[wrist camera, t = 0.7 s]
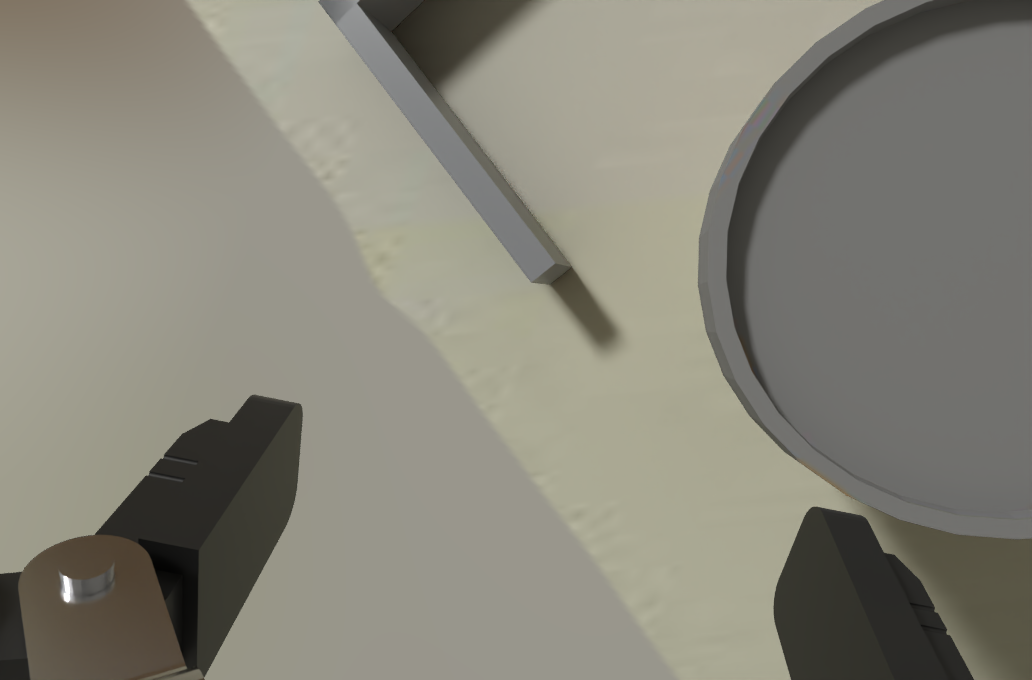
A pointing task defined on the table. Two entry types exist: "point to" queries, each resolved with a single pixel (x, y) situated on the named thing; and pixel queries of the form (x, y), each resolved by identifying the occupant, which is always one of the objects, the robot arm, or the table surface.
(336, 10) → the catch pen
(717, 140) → the table surface
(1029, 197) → the reusable coffee cup
